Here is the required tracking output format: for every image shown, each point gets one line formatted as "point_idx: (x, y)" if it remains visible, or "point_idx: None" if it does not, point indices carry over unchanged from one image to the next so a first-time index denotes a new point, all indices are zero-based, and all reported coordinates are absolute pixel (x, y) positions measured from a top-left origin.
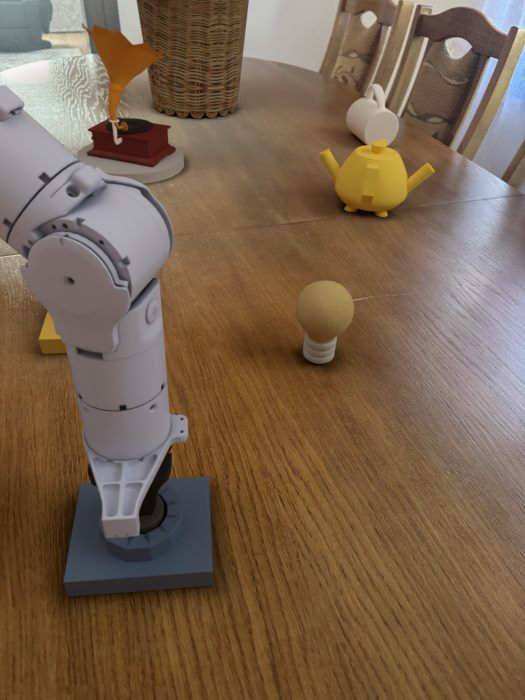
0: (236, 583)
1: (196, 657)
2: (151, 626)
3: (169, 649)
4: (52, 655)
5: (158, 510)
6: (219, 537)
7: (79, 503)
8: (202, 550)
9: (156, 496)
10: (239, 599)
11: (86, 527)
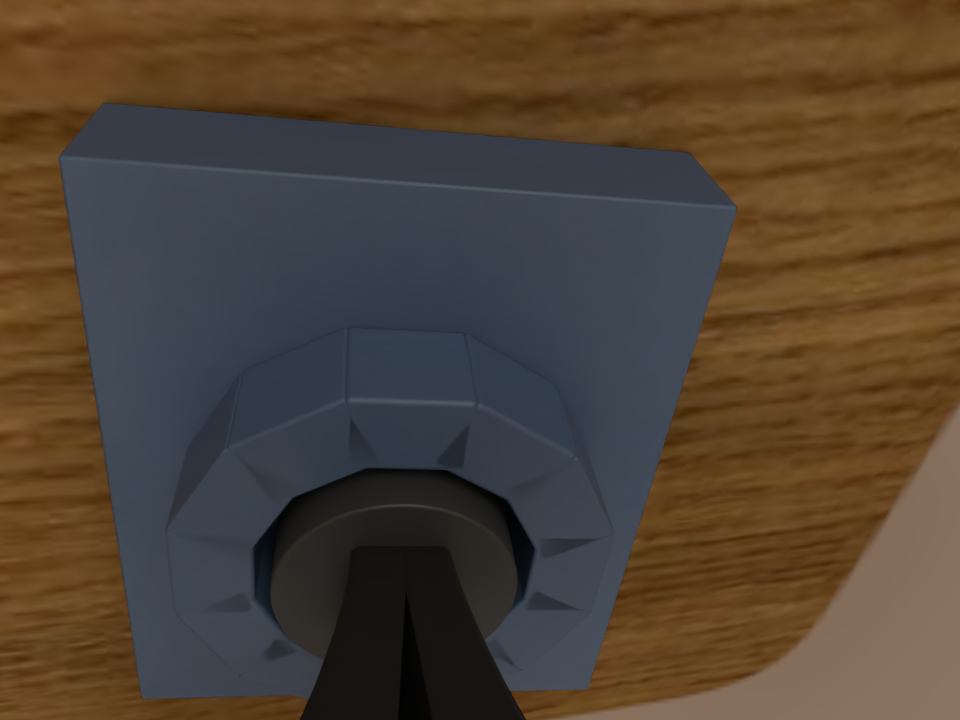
0: (714, 31)
1: (940, 246)
2: (759, 387)
3: (865, 334)
4: (730, 616)
5: (428, 527)
6: (430, 81)
7: (253, 692)
8: (603, 245)
9: (523, 716)
10: (798, 30)
11: None
